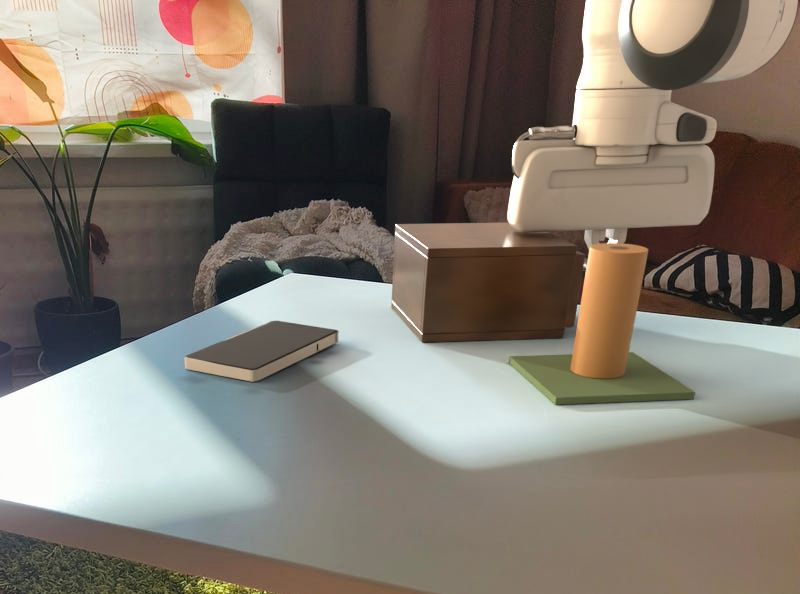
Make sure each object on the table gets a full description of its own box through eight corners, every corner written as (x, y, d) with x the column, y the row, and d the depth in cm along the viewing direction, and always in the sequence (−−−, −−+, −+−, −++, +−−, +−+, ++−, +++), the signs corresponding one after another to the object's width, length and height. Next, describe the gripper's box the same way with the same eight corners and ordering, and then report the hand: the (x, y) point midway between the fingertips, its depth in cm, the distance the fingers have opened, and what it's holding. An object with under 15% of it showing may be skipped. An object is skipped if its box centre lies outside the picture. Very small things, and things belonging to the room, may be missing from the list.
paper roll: (611, 362, 80) (633, 242, 75) (633, 378, 76) (658, 252, 71) (562, 364, 79) (581, 243, 74) (582, 380, 76) (603, 253, 70)
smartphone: (180, 356, 79) (272, 319, 90) (181, 370, 80) (272, 331, 91) (255, 370, 76) (342, 330, 86) (256, 384, 76) (341, 342, 87)
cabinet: (516, 304, 101) (526, 222, 97) (563, 338, 89) (577, 245, 85) (391, 308, 100) (395, 224, 95) (421, 342, 88) (428, 248, 83)
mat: (631, 358, 83) (632, 351, 83) (694, 399, 73) (695, 392, 73) (508, 362, 82) (509, 356, 82) (555, 404, 72) (556, 397, 72)
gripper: (525, 128, 83) (511, 285, 90) (733, 121, 85) (704, 276, 92) (505, 126, 88) (494, 274, 96) (702, 119, 90) (676, 266, 97)
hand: (599, 275), depth 94 cm, fingers closed, pressing on drawer
